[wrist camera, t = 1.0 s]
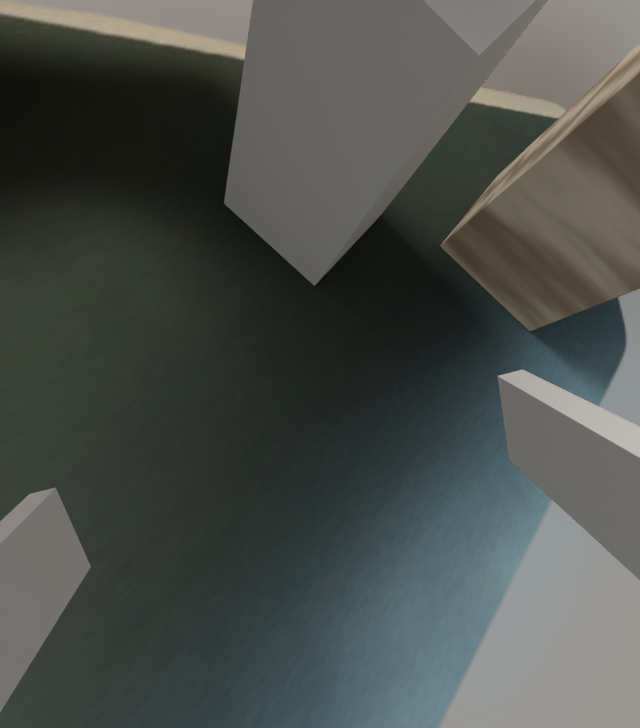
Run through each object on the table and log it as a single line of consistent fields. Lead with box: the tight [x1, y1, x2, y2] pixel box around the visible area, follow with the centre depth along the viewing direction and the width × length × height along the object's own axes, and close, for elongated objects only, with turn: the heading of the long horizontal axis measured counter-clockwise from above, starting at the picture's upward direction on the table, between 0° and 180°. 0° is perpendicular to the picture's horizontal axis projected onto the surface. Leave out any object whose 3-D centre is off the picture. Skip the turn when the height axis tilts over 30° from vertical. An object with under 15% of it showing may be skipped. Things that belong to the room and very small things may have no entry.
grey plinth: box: [224, 0, 548, 286], centre depth 28 cm, size 10×10×22 cm
